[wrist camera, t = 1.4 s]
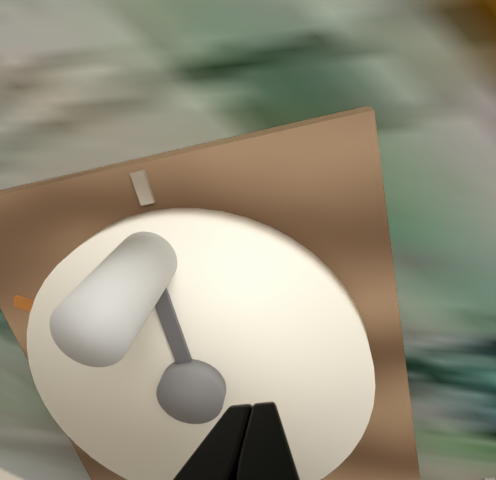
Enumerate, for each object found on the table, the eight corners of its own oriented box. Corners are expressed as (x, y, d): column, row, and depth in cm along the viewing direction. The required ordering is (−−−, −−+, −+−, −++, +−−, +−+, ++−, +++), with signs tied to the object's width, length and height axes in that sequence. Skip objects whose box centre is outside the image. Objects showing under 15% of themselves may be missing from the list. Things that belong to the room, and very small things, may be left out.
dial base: (414, 464, 24) (422, 493, 22) (114, 481, 28) (102, 506, 26) (368, 105, 16) (374, 110, 15) (-30, 197, 20) (-58, 208, 19)
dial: (388, 468, 22) (420, 625, 16) (113, 483, 25) (52, 617, 19) (341, 172, 16) (362, 241, 10) (-9, 243, 19) (-153, 326, 13)
